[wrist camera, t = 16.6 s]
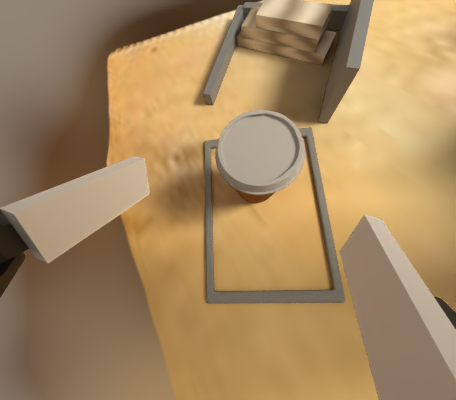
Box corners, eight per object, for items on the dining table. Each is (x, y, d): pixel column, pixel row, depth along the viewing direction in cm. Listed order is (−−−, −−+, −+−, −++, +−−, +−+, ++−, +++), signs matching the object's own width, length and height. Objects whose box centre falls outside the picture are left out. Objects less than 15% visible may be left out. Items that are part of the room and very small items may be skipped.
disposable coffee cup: (294, 171, 29) (323, 123, 18) (270, 222, 28) (284, 207, 16) (242, 150, 31) (238, 95, 20) (217, 197, 30) (196, 167, 18)
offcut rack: (349, 24, 35) (385, -58, 26) (327, 123, 31) (359, 68, 21) (239, 19, 40) (234, -52, 31) (206, 103, 36) (188, 51, 26)
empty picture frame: (206, 303, 26) (204, 128, 34) (209, 300, 28) (206, 133, 35) (346, 303, 24) (309, 113, 31) (340, 299, 25) (306, 119, 33)
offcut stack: (332, 43, 35) (347, 4, 30) (321, 66, 34) (334, 30, 29) (249, 27, 40) (249, -10, 34) (238, 47, 39) (235, 13, 33)
